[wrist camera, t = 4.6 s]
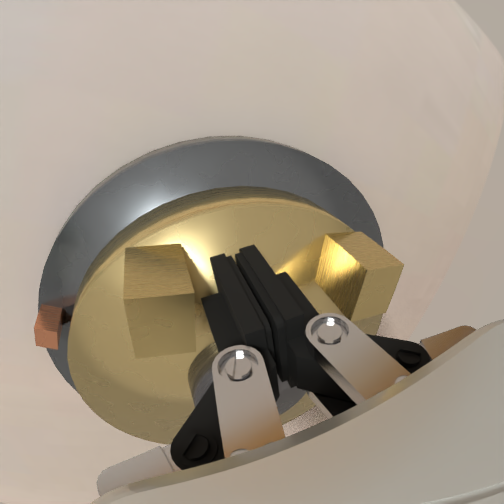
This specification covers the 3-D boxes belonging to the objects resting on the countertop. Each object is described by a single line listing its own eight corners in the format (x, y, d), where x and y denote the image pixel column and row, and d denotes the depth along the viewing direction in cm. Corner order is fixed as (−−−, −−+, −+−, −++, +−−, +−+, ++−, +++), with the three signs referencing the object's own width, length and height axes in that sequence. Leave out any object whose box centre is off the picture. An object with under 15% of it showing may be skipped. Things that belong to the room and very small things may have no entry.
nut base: (401, 290, 24) (426, 313, 21) (215, 435, 26) (225, 462, 23) (251, 44, 12) (281, 32, 9) (-7, 333, 14) (-20, 371, 11)
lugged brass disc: (324, 390, 25) (354, 437, 20) (114, 429, 19) (122, 492, 14) (391, 189, 16) (464, 231, 12) (37, 199, 10) (-14, 268, 6)
